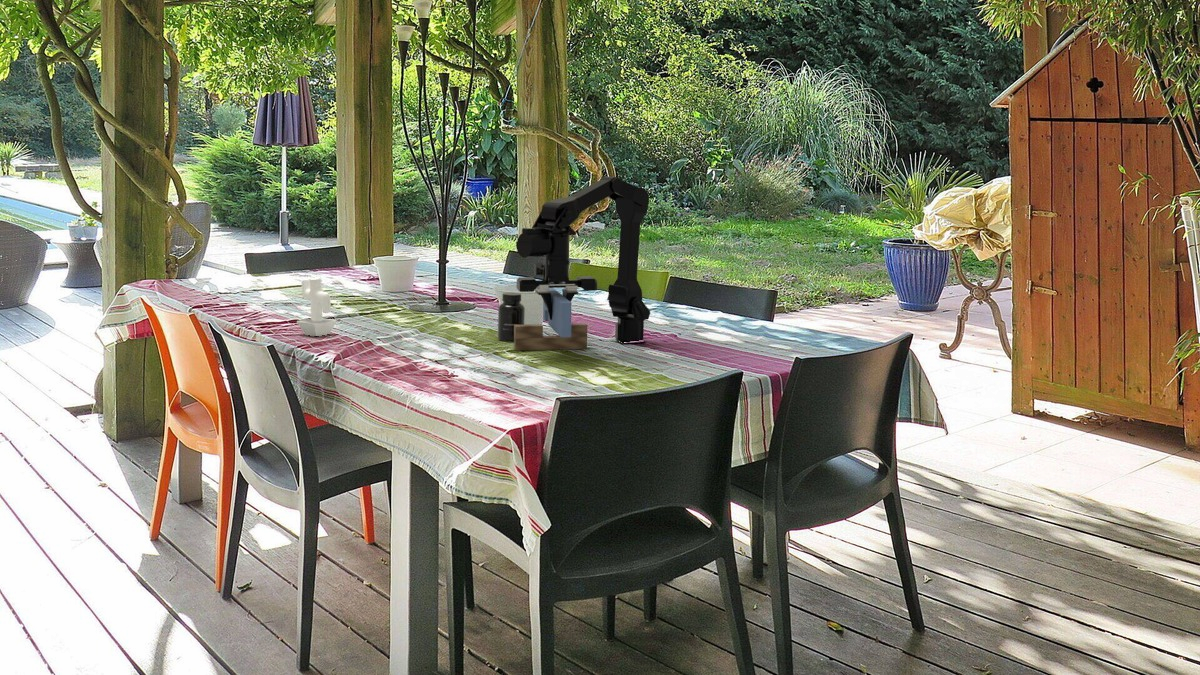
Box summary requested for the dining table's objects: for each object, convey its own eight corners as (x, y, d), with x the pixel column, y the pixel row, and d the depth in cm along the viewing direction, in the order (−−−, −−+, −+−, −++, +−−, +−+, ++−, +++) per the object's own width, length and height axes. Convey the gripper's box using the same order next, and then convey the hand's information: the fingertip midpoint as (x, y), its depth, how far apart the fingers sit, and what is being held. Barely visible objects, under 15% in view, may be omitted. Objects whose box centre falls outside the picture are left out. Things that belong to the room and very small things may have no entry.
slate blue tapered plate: (543, 319, 262) (543, 287, 261) (552, 318, 263) (552, 287, 261) (560, 337, 239) (561, 303, 238) (571, 337, 240) (571, 302, 238)
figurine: (318, 339, 265) (316, 280, 263) (294, 334, 271) (292, 277, 268) (340, 335, 271) (338, 277, 268) (316, 330, 277) (314, 274, 274)
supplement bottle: (506, 343, 265) (506, 296, 263) (493, 338, 270) (493, 293, 268) (529, 340, 269) (529, 294, 267) (515, 336, 274) (515, 291, 272)
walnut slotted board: (584, 346, 262) (585, 323, 261) (587, 348, 260) (587, 324, 259) (514, 348, 258) (514, 324, 257) (515, 350, 256) (515, 326, 255)
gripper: (588, 250, 257) (587, 312, 260) (513, 251, 253) (513, 314, 256) (598, 255, 247) (597, 320, 250) (520, 256, 243) (520, 322, 246)
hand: (556, 319), depth 251 cm, fingers closed on slate blue tapered plate, 2 cm apart
